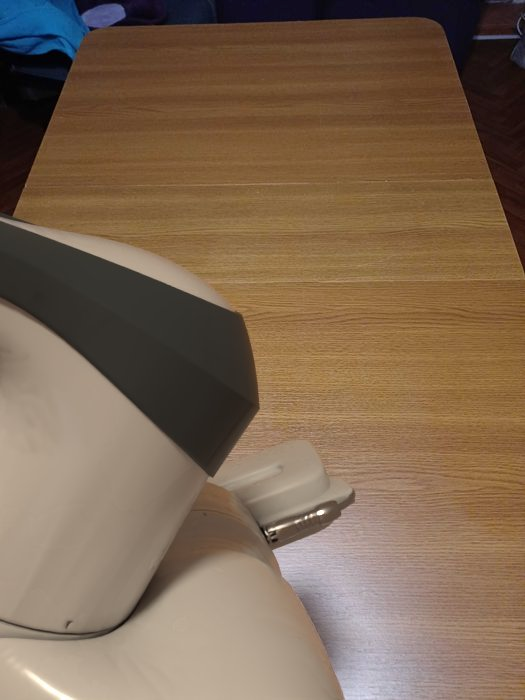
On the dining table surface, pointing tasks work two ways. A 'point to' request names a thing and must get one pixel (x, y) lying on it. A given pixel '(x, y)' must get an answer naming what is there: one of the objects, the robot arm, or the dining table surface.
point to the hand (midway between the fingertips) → (165, 483)
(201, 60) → the dining table surface
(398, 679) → the dining table surface
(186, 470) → the robot arm
